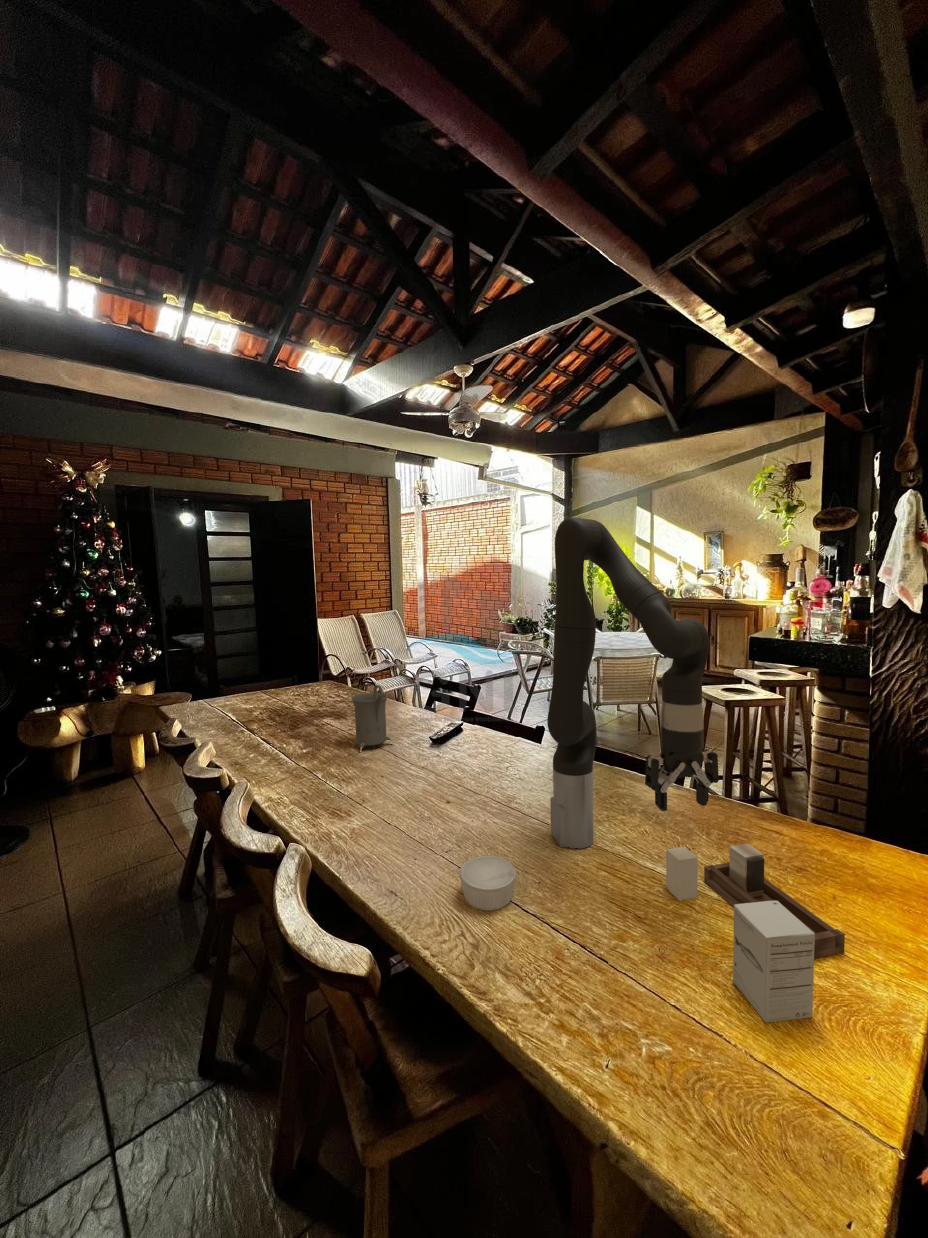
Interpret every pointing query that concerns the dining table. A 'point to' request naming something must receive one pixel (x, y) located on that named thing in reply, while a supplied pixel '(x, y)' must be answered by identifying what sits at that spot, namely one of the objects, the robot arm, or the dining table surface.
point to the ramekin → (488, 882)
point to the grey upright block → (681, 873)
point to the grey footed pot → (370, 717)
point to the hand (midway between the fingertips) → (682, 806)
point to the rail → (767, 895)
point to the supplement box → (773, 960)
